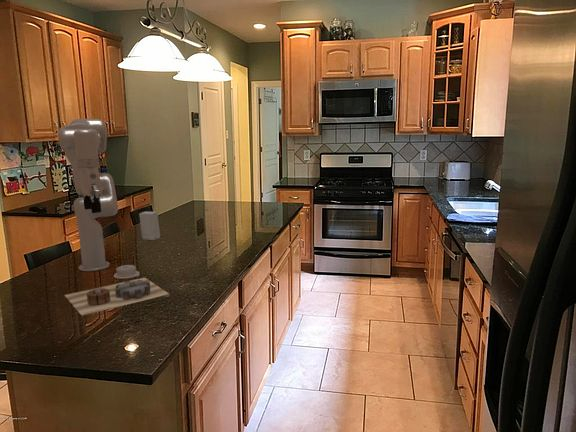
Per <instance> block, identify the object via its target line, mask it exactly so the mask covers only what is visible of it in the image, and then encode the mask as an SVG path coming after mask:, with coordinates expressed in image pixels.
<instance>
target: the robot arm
mask: <svg viewBox="0 0 576 432" xmlns="http://www.w3.org/2000/svg"><path fill="white" fill-rule="evenodd" d="M107 131H108V130H107V125H106V123H105V121H103V120H102V119H101V118H76V119H74V120H72V121H71V122H70V123H69V124H68V125H63V126H61V127H60V128H59V129H58V134H57V135H58V136H57V139H58V143H59V146H60V147H61V149H63V151H64V155H65V156H66V159H67V160H68V162H69V164H70V166H71V168H72V174H73V184H74V189H75V192H76V193H77V195H79V196H80V197H77V198H75V200H74V201H73V210H74V215H75V219H76V222H77V229H78V239H79V246H80V255H81V258H80V259H81V264H80V265H78V270H79V271H81V272H96V271H102V270H105V269H107V268H109V267H110V264H111V263H110V262H109V261H107V260H106V251H105V241H104V232H103V231H104V230H103V227H102V224H100V222H99V221H97V220H96V219H98V218H107V217H114V216H115V215H117V214H118V212H119V205H118V199H117V194H116V193H117V192H116V187H115V181H114V178H113V176H112V175H111V174H110V173H107V172H100V171H99V168H101V167H100V158H99V154H101V153H102V154H103V153H104V152H105V151H106V150H107V144H108V143H107V141H108V139H107V138H108V132H107Z"/></svg>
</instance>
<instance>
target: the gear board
mask: <svg viewBox="0 0 576 432" xmlns="http://www.w3.org/2000/svg"><path fill="white" fill-rule="evenodd" d="M101 288H104V289H108V290H109V292H110V301H109V302H108V303H105V304H102V305H97V306H96V305H89V304H88V301H87V292H89V291H92V290H94V289H95V294H99V293H101ZM162 296H163V297H164V299H165V298H169V297H170V296H171V295H170V293H169V292H167V291H166V290H165V289H163V288H161V287H160V286H158V285H157V284H155V283H154V282H152V281H151V280H149V279H148V278H147V277H141V278H136V279H131V280H127V281H126V280H125V281H122V282H118V283H113V284H108V285H104V286H100V287H99V286H98V287H95V288H90V289H86V290H81V291H76V292H72V293H68V294H64V297H65V298H66V299H67V301H68V302H69V303H70V304H71V305H72V306H73V307H74V308H75V310H76V311H77V312H78V313H79V315H81V317H82V318H81V319H86V318H87V319H88V318H89V317H93V316H98V315H102V314H105V313H110V312H114V311H117V310H118V311H119V308H120V307H121V308H120V310H121V309H123V306H124V309H125V308H127V305H129V306H128V308H129V307H131V305H132V304H134V305H132V307H134V306H135V304H136V306H137V305H139V303H140V305H142V304H143V301H144V304H147V300H150V301H148V303H150V302H151V300H152V299H153V300H152V302H154V301H155V298H157V299H156V301H158V300H159V297H160V300H162V299H163V297H162ZM161 297H162V298H161ZM116 308H117V309H116ZM111 309H112V310H111ZM113 309H114V310H113ZM107 310H109V311H107ZM103 311H106V312H103ZM99 312H100V313H99ZM95 313H97V314H95ZM90 314H95V315H90ZM86 315H90V316H86ZM83 316H86V317H83Z"/></svg>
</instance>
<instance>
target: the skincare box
mask: <svg viewBox="0 0 576 432" xmlns="http://www.w3.org/2000/svg"><path fill="white" fill-rule="evenodd" d="M138 215H139V222H140V229H141V230H140V231H141V232H140V233H141V238H142V239H141V240H145V241H146V240H148V241H149V240H150V241H155V240H159V239H161V232H160V225H159V224H160V223H159V216H158V211H147V210H146V211H142V212H140V213H139V214H138Z"/></svg>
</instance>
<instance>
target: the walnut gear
mask: <svg viewBox="0 0 576 432" xmlns="http://www.w3.org/2000/svg"><path fill="white" fill-rule="evenodd" d="M93 289H94V288H93ZM87 301H88V304H89V305H96V306H97V305H102V304H105V303H108V302H109V301H110V292H109V290H108V289H104V288H101V293H99V294H95V289H94V290H92V291H89V292H87Z"/></svg>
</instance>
